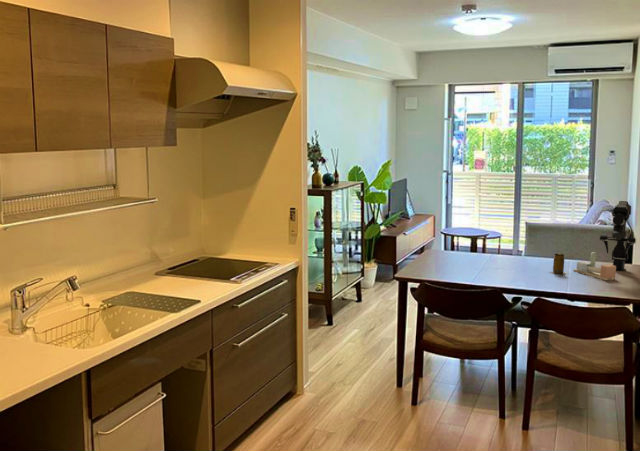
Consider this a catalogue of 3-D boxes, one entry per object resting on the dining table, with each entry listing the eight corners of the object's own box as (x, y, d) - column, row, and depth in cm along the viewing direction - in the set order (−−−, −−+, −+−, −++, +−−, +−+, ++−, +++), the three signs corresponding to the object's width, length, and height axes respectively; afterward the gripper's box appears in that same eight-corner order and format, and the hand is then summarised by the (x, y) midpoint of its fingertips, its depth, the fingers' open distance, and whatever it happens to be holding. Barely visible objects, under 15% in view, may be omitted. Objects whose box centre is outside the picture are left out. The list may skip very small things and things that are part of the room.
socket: (609, 275, 374) (610, 264, 373) (615, 277, 369) (616, 266, 368) (600, 276, 371) (601, 265, 370) (606, 278, 367) (607, 266, 366)
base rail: (581, 270, 393) (582, 268, 393) (614, 279, 370) (615, 277, 369) (573, 270, 390) (573, 269, 390) (605, 280, 367) (606, 278, 367)
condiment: (556, 271, 389) (557, 252, 387) (568, 273, 383) (570, 254, 381) (549, 272, 385) (551, 253, 383) (562, 275, 378) (564, 255, 376)
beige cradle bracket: (582, 268, 390) (584, 249, 388) (602, 273, 376) (603, 254, 374) (578, 268, 388) (580, 250, 387) (597, 273, 375) (599, 254, 373)
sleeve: (582, 269, 391) (583, 261, 390) (592, 271, 384) (593, 263, 383) (576, 269, 389) (577, 261, 388) (586, 272, 382) (587, 264, 381)
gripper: (600, 224, 364) (597, 251, 362) (636, 226, 355) (633, 254, 354) (601, 227, 374) (599, 253, 372) (636, 229, 365) (634, 256, 363)
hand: (616, 254), depth 365 cm, fingers open, 9 cm apart
